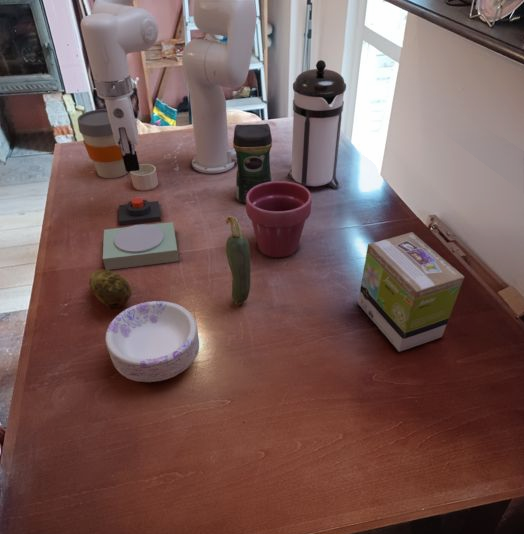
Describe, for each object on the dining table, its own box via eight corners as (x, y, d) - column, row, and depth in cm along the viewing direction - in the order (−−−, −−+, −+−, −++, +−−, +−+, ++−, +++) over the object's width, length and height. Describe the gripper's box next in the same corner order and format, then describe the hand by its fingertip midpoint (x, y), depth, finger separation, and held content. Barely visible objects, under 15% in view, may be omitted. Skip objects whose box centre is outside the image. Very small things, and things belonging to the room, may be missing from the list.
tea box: (355, 304, 96) (366, 241, 85) (397, 292, 99) (413, 229, 88) (398, 354, 86) (417, 290, 76) (443, 338, 89) (467, 274, 78)
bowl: (158, 178, 135) (155, 162, 132) (159, 190, 130) (156, 174, 127) (133, 181, 134) (129, 165, 131) (133, 192, 129) (130, 176, 126)
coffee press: (350, 176, 135) (365, 56, 113) (324, 200, 125) (335, 73, 104) (296, 162, 141) (302, 46, 120) (268, 184, 132) (268, 61, 110)
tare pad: (159, 205, 124) (157, 195, 122) (161, 221, 119) (159, 210, 117) (120, 209, 123) (117, 199, 121) (120, 226, 117) (117, 215, 115)
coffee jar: (271, 189, 130) (271, 118, 116) (273, 204, 124) (273, 131, 111) (235, 190, 130) (232, 119, 116) (235, 205, 124) (232, 132, 111)
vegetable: (254, 301, 97) (252, 212, 83) (247, 314, 94) (243, 225, 80) (234, 296, 98) (229, 208, 84) (226, 310, 95) (219, 220, 81)
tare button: (143, 202, 120) (142, 197, 119) (144, 208, 118) (142, 202, 117) (132, 204, 120) (131, 198, 119) (132, 209, 118) (131, 203, 117)
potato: (134, 279, 102) (126, 247, 97) (135, 318, 94) (127, 285, 88) (94, 284, 101) (84, 252, 95) (92, 324, 92) (80, 292, 87)
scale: (174, 232, 115) (172, 219, 112) (178, 261, 107) (176, 247, 104) (107, 240, 113) (103, 227, 110) (105, 270, 105) (101, 256, 102)
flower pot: (254, 227, 117) (253, 177, 107) (312, 233, 114) (315, 182, 105) (241, 260, 107) (238, 208, 98) (303, 267, 105) (306, 215, 96)
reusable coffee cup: (115, 158, 144) (102, 105, 134) (144, 168, 139) (134, 114, 129) (82, 173, 137) (66, 119, 127) (111, 185, 132) (97, 129, 121)
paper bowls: (163, 407, 78) (155, 375, 72) (97, 371, 84) (84, 339, 78) (218, 351, 87) (214, 318, 81) (154, 321, 93) (147, 289, 87)
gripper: (132, 96, 96) (150, 182, 109) (131, 73, 106) (147, 154, 119) (94, 100, 95) (116, 186, 108) (96, 75, 105) (116, 157, 118)
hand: (132, 169), depth 114 cm, fingers closed
